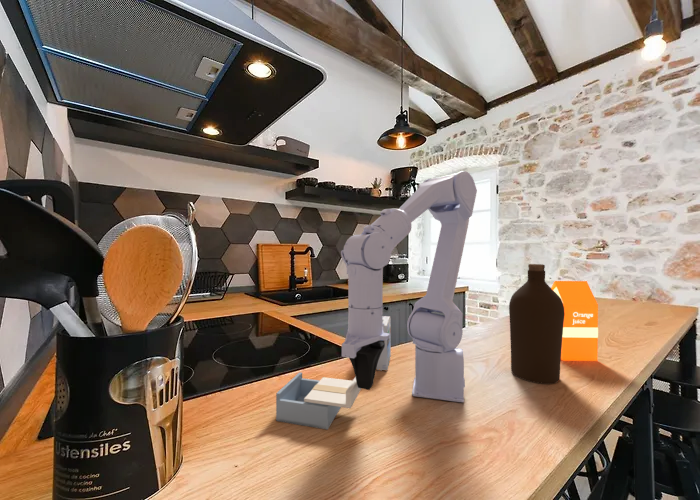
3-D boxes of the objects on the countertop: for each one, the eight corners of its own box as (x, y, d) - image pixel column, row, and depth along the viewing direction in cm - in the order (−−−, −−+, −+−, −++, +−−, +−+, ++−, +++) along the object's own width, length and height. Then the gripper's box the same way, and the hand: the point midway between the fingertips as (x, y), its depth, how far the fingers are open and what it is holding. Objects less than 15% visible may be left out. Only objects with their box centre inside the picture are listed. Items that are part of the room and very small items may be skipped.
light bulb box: (387, 372, 72) (388, 325, 72) (359, 369, 73) (359, 324, 73) (391, 356, 82) (391, 315, 82) (366, 354, 84) (366, 314, 84)
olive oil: (523, 385, 65) (525, 266, 64) (499, 365, 75) (501, 262, 75) (574, 386, 65) (577, 266, 64) (543, 365, 75) (545, 262, 75)
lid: (363, 384, 56) (363, 371, 56) (350, 408, 48) (350, 392, 48) (322, 379, 59) (323, 366, 59) (304, 401, 50) (304, 386, 50)
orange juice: (598, 361, 79) (598, 282, 79) (563, 360, 79) (563, 282, 79) (576, 350, 87) (577, 279, 87) (544, 350, 87) (545, 279, 87)
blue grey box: (343, 402, 58) (343, 377, 58) (327, 429, 49) (327, 400, 49) (299, 395, 60) (299, 372, 60) (276, 420, 51) (276, 393, 51)
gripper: (373, 317, 44) (373, 413, 44) (399, 300, 57) (399, 374, 57) (329, 312, 46) (328, 403, 46) (363, 298, 60) (363, 368, 60)
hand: (365, 387), depth 52 cm, fingers closed
